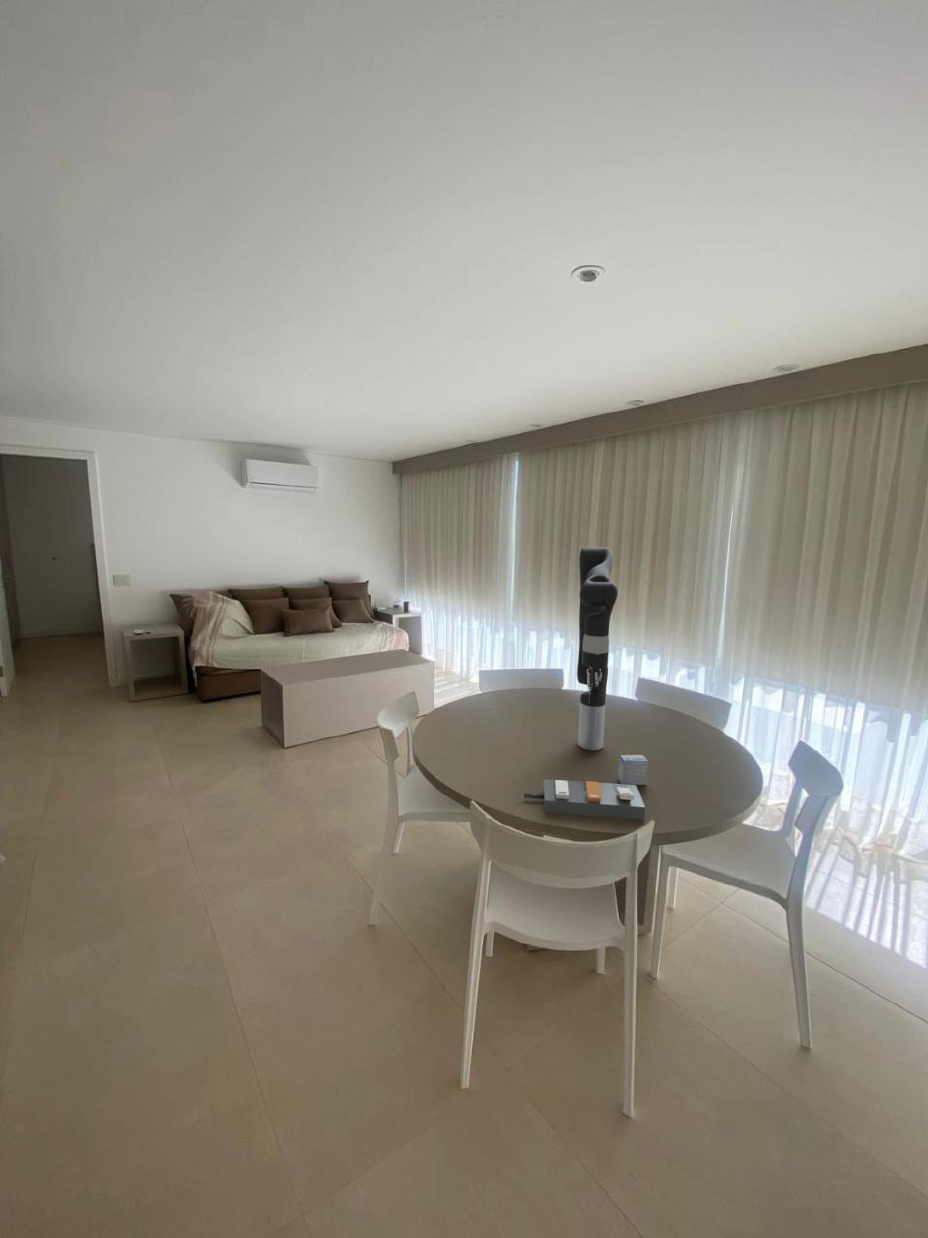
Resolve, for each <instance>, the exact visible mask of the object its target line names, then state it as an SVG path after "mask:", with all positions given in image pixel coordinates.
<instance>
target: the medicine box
mask: <svg viewBox="0 0 928 1238" xmlns="http://www.w3.org/2000/svg"><path fill="white" fill-rule="evenodd" d="M618 762H619V763H618V774H617V775H618V776H617V778H618V781H619V782H620V784H626V785H636V786H647V779H648V771H649V770H648V767H649V760H647V758H646V757H645V756H644V755H643V754H622V755H621V754H620V755H619V760H618Z"/></svg>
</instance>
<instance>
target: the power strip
mask: <svg viewBox="0 0 928 1238" xmlns="http://www.w3.org/2000/svg"><path fill="white" fill-rule="evenodd" d="M555 780H556V779H546V778H544V779H543V781H542V782H543V785H542V787H543V789H542V794H538V793H526V792H525V793H523V797H524V798H527V799H537V800H538V799H541V800H543V807H544V810H543V811H544V813H545V814H556V815H557V814H558V815H571V816H585V817H599V818H612V819H624V820H641V821H644V820H645V814H646V806H645V804H644V801H643V799H642V796H641V794H640V791H639V789H638V787H637V785H626V784H621V783H609V782H607V783H606V782H599V789H600V795H601V802H595V801H588V799H587V791H586V781H578V780H577V781H576V780H567V781H568V790H569V799H562V798H556V789H555ZM563 781H565V780H563ZM617 787H619V788H629V789H630V790H631V792H632V793H633V795H634V800H627V799H620V797H619V796H618V794H617V792H616V791H617Z"/></svg>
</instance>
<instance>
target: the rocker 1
mask: <svg viewBox="0 0 928 1238" xmlns="http://www.w3.org/2000/svg"><path fill="white" fill-rule="evenodd" d="M554 780H555V789H556V798H562V799H569V790H568V781H569V780H564V781H563V780H562V779H554Z"/></svg>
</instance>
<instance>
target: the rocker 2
mask: <svg viewBox="0 0 928 1238" xmlns="http://www.w3.org/2000/svg"><path fill="white" fill-rule="evenodd" d="M585 782H586V791H587V799H588V801H595V802H601V795H600V789H599V783H600V782H598V781H591V780H590V781H588V780H586V781H585Z"/></svg>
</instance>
